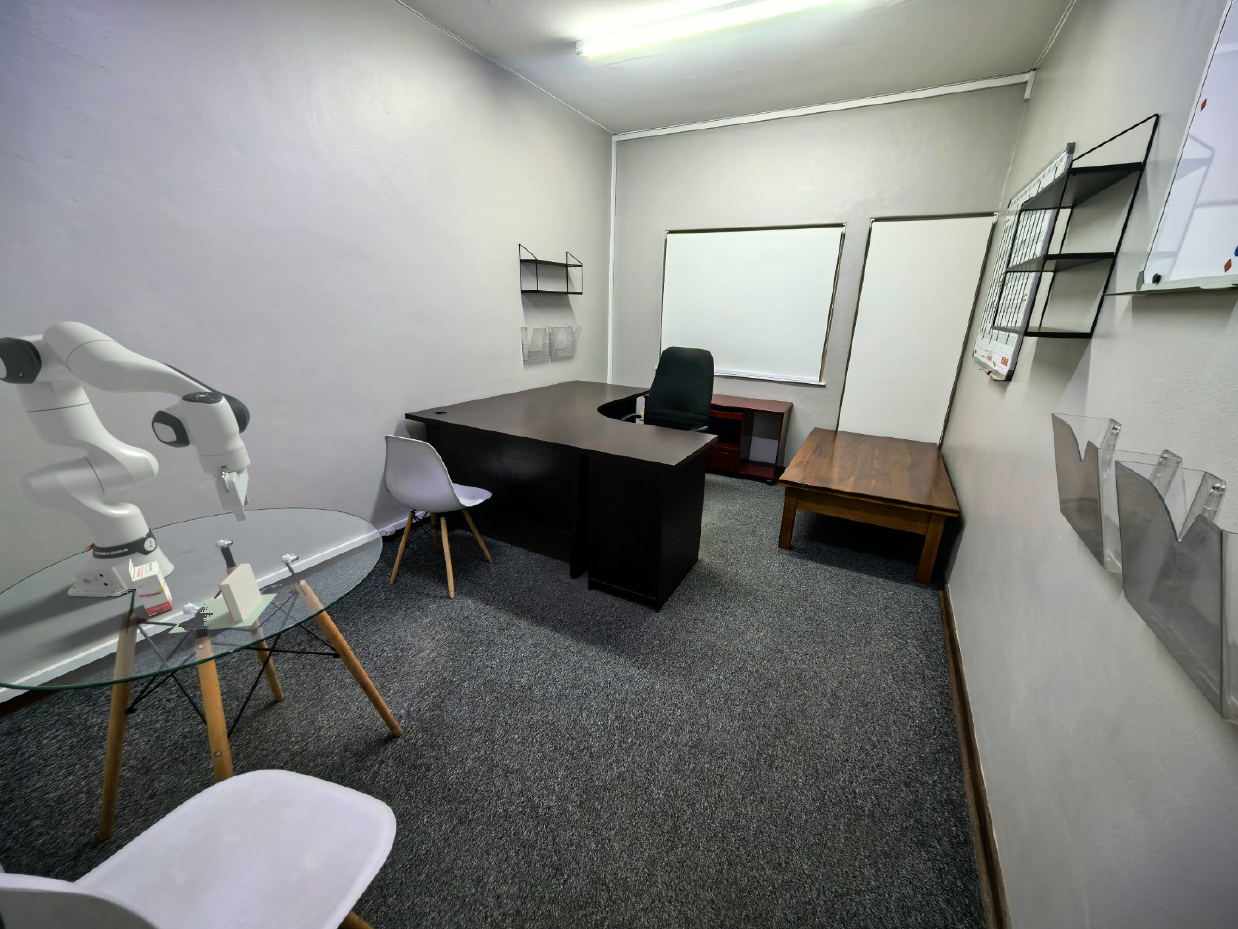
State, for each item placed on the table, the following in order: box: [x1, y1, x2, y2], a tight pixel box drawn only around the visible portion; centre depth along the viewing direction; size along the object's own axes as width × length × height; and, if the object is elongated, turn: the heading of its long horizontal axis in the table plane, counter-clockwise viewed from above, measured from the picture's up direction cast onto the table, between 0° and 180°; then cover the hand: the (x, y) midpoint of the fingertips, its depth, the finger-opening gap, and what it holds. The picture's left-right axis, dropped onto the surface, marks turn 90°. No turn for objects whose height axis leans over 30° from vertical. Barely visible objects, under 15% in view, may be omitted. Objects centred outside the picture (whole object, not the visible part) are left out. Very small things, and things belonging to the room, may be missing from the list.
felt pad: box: [168, 593, 278, 634], centre depth 122 cm, size 19×13×1 cm
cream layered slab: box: [218, 563, 262, 622], centre depth 121 cm, size 2×9×12 cm, turn 9°
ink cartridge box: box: [129, 559, 173, 616], centre depth 122 cm, size 9×5×15 cm, turn 45°
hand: (243, 511), depth 113 cm, fingers open, 8 cm apart
